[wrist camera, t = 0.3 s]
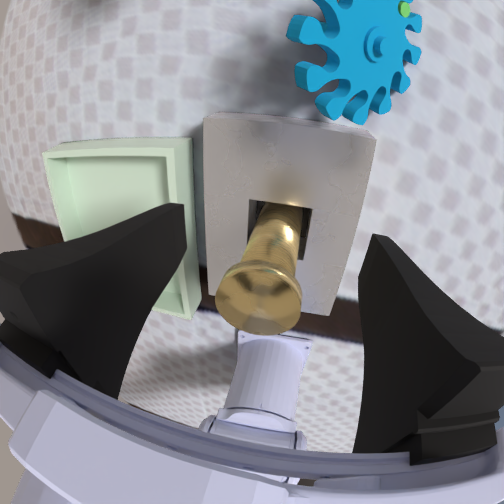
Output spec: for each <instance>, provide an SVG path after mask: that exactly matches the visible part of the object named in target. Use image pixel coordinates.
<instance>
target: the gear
mask: <svg viewBox="0 0 504 504" xmlns="http://www.w3.org/2000/svg"><path fill="white" fill-rule="evenodd" d="M313 1H314V2H315V3H316V4H317V5H318V6H319V7H320V9H321V10H322V12H323V14H324V17H325V20H326V23H325V22H320V21H318V20H317V19H316V18H314V17H310V16H302V15H294V17H293V18H292V19H291V21H290V23H289V26H288V30H287V34H286V36H287V38H288V39H290V40H291V41H294V42H298V43H303V44H307V45H311V44H317V45H318V46H320V47H321V48H322V49H323V50H324V51H325V52H326V53H327V62H326V64H325V65H324V66H323V67H320V66H318V65H315V64H312V63H309V62H306V61H301V62H299V63H297V64H296V65H295V80H296V84H297V86H298V87H300V88H302V89H305V90H307V91H310V92H315V91H317V90H319V89H320V88H321V87H322V86H323V85H325V84H326V83H327V82H329V81H331V80H334V79H339V85H338V87H337V89H336V90H335V91H333V92H323V93H321V94H320V95H318V96H317V98H316V100H315V105H316V107H317V108H318V110H319V111H320V112H321V113H322V114H323V115H324V116H326V117H328V118H330V119H332V120H333V121H334V120H336V119H338V118H339V117H340V116H341V114H342V115H343V116H344V117H345V118H347V119H349V120H350V121H352V122H354V123H356V124H359V125H363V124H364V123H365V122H366V120H367V117H368V110H369V109H370V110H372V111H374V112H376V113H378V114H385V113H387V112H389V111H390V109H391V99H390V88H391V89H393V90H395V91H397V92H399V93H401V94H402V93H404V92H405V91H406V90H407V88H408V87H409V86H410V78H409V77H408V76H407V75H406V73H405V71H404V67H403V60H405V61H407V62H409V63H412V64H414V65H416V64H417V63H418V61H419V58H420V55H421V49H420V48H419V47H416V46H414V45H411V44H410V43H409V42H408V40H407V38H406V36H405V29H407V30H410V31H413V32H416V33H420V32H421V28H422V17H421V16H420V15H418V14H415V13H411V12H410V7H409V4H408V3H411V2H412V1H413V0H339V3H337V0H313ZM354 95H356V96H355V98H354V99H353V100H352V101H350V102H349V103H348V101H349V100H350V99H351V98H352V97H353V96H354Z"/></svg>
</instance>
